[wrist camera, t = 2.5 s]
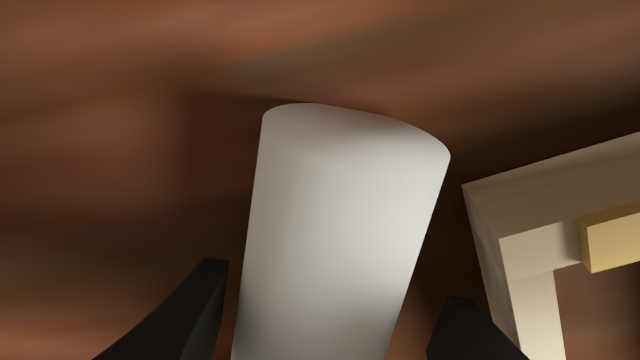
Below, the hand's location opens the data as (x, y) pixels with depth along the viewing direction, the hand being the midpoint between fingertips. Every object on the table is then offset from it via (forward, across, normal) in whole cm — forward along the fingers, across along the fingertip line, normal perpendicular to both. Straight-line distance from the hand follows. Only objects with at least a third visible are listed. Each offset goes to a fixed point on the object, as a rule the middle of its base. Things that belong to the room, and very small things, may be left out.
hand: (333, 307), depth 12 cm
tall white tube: (0, 0, 0) cm, 1 cm away
